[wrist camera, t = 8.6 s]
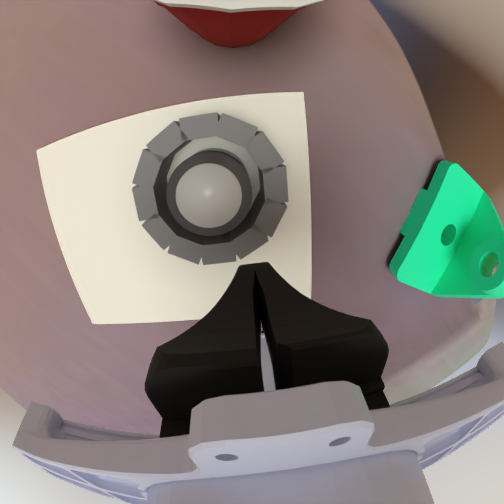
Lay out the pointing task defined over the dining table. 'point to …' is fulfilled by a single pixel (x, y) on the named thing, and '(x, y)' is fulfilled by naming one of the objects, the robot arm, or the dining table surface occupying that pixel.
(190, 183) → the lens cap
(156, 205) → the board
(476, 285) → the camera mount
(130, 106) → the dining table surface
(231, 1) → the plastic cup
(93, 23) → the dining table surface
